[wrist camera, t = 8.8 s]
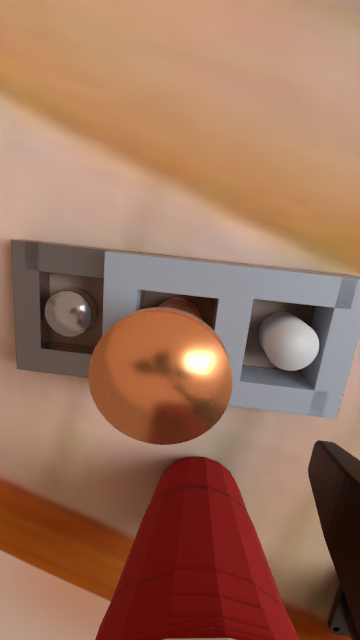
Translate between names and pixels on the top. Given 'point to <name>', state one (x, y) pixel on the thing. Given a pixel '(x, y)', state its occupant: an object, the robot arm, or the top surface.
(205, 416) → the pin
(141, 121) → the top surface
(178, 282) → the frame
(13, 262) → the lower chain end
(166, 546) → the plastic cup
